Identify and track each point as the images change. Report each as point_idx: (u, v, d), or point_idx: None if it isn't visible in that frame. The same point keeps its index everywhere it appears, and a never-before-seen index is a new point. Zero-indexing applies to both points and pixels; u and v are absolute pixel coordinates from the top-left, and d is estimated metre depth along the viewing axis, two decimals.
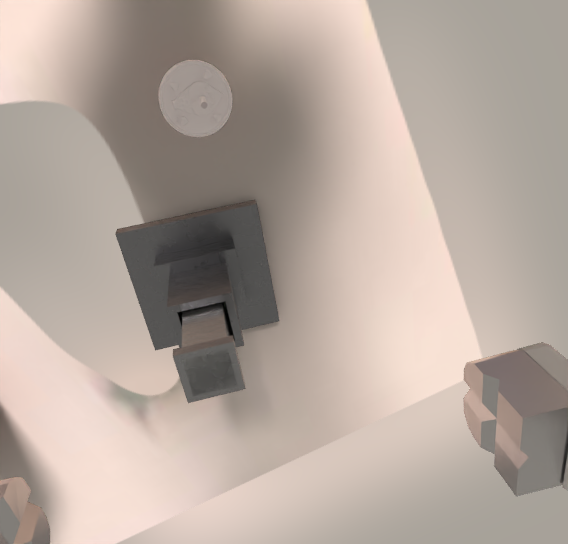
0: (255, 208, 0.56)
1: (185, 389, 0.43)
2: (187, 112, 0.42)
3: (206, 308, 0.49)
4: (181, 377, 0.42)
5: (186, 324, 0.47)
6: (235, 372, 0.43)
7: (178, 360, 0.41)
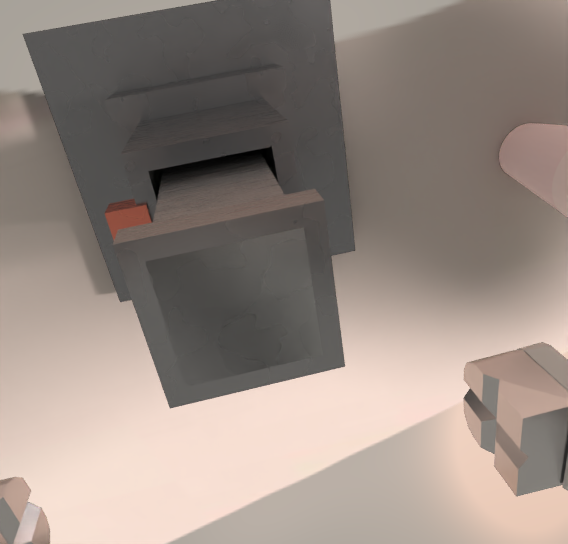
0: (347, 249, 0.33)
1: (177, 236, 0.12)
2: None
3: None
4: (231, 224, 0.12)
5: None
6: (235, 379, 0.14)
7: (303, 217, 0.12)
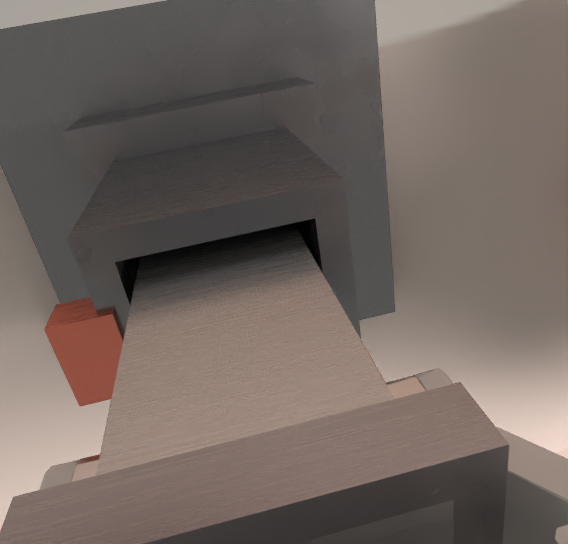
0: (385, 310, 0.26)
1: None
2: None
3: None
4: (285, 514, 0.05)
5: None
6: None
7: (456, 481, 0.05)
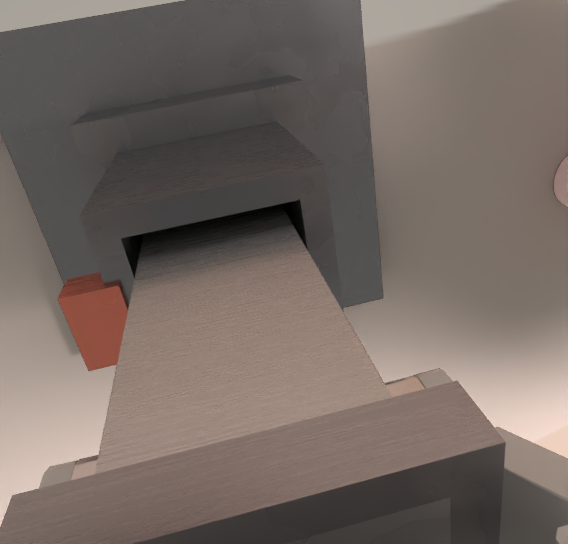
0: (374, 296, 0.28)
1: None
2: None
3: None
4: (283, 512, 0.05)
5: None
6: None
7: (453, 478, 0.05)
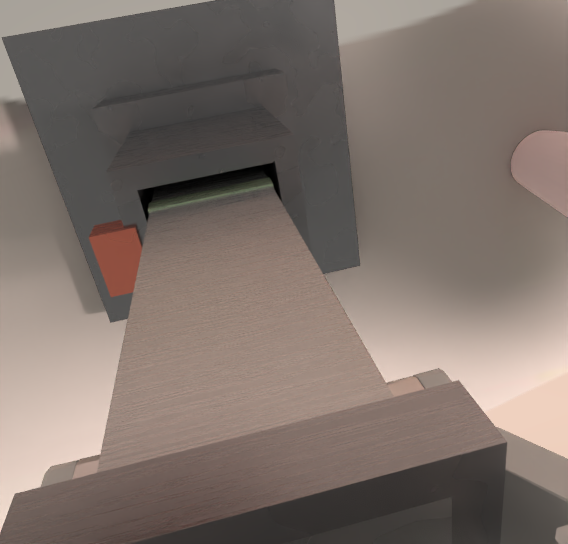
0: (352, 264, 0.31)
1: None
2: None
3: None
4: (285, 511, 0.05)
5: None
6: None
7: (455, 478, 0.05)
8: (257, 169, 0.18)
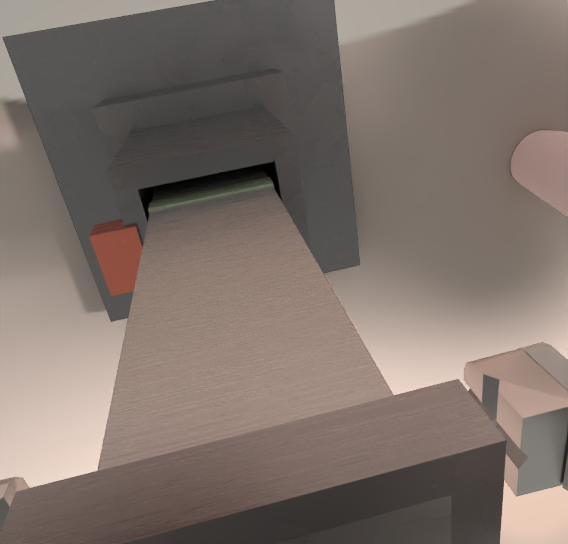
0: (352, 263, 0.31)
1: None
2: None
3: None
4: (285, 509, 0.05)
5: None
6: None
7: (454, 476, 0.05)
8: (257, 169, 0.18)
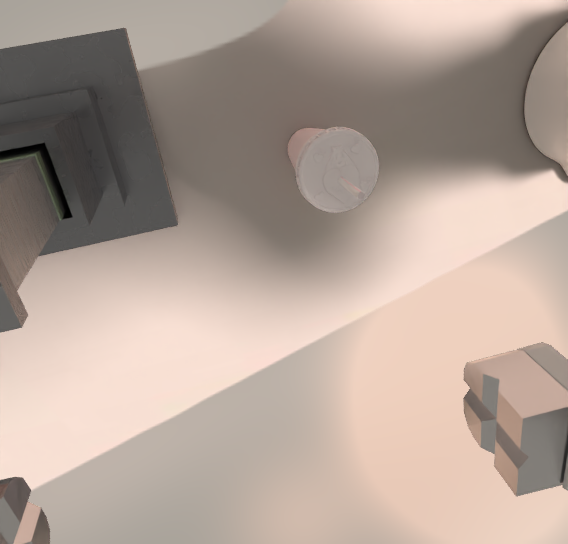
0: (172, 223, 0.44)
1: None
2: (327, 162, 0.36)
3: (32, 218, 0.25)
4: None
5: (4, 191, 0.23)
6: None
7: None
8: (41, 148, 0.30)
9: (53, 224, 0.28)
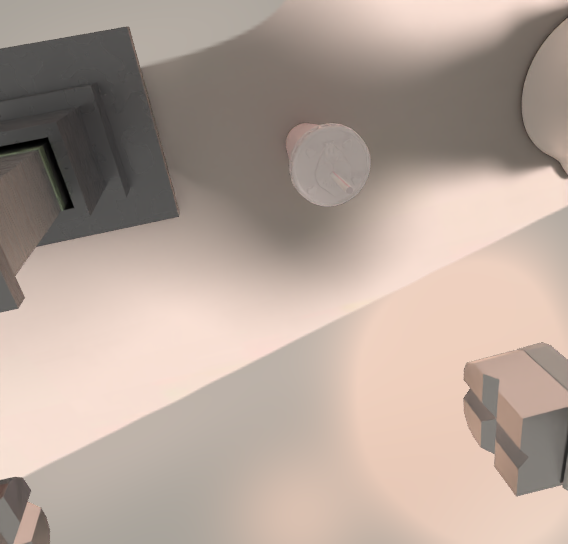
0: (173, 215, 0.45)
1: None
2: (319, 157, 0.37)
3: (33, 208, 0.27)
4: None
5: (6, 183, 0.24)
6: None
7: None
8: (44, 142, 0.32)
9: (54, 214, 0.30)
